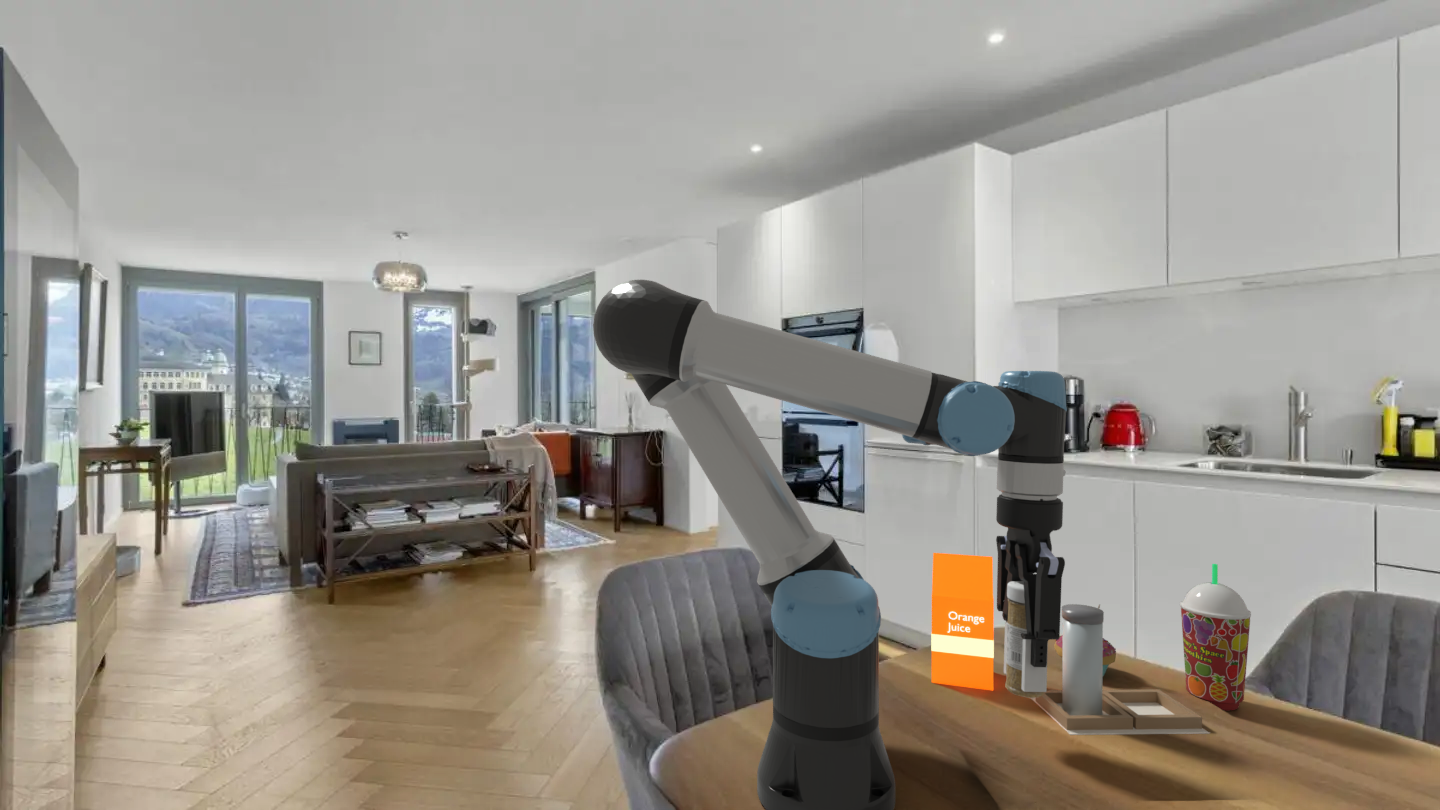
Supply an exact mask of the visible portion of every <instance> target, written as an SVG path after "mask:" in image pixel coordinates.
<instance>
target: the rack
mask: <svg viewBox="0 0 1440 810" xmlns="http://www.w3.org/2000/svg"><path fill="white" fill-rule="evenodd" d="M1030 699H1031V700H1032V701H1033V702H1034V703H1035V704H1036V705H1037V706H1038V707H1040V708H1041V709H1042V710H1043V711H1044V712H1045V713H1046V714H1047V715H1048V716H1049V717H1050V718H1052V720H1054V722H1056V723H1057V724H1058V725H1059V726H1060V727H1061V728H1062V729H1063V730H1064V731H1066V732H1067V734H1068V735H1070V736H1083V735H1085V736H1090V735H1092V736H1093V735H1097V736H1098V735H1103V736H1105V735H1109V736H1110V735H1168V734H1169V735H1183V734H1184V735H1187V734H1188V735H1190V734H1191V735H1192V734H1193V735H1194V734H1196V735H1197V734H1198V735H1199V734H1202V735H1203V734H1204V735H1205V734H1211V732H1210V731H1207V730H1206V729H1205V728H1203V717H1202V716H1201V715H1199V714H1198V713H1196V712H1194V711H1193V710H1192V709H1190V708H1189V707H1187V706H1185V705H1184V704H1182V703H1181V702H1179V700H1176V699H1174V698H1173V697H1171V696H1170V695H1168V694H1167V693H1165V692H1164V691H1162V690H1161V689H1159V688H1158V689H1157V688H1156V689H1102V715H1071V716H1070V715H1069V714H1068V713H1067V712H1065V711H1064V710H1063V709H1062V689H1059V690H1058V689H1057V690H1049V689H1046V692H1044V694H1043V695H1042V696H1041V697H1035V698H1030Z"/></svg>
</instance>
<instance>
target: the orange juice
mask: <svg viewBox="0 0 1440 810" xmlns="http://www.w3.org/2000/svg"><path fill="white" fill-rule="evenodd" d="M932 556H933V557H932V577H931V579H932V584H931V634H930V636H931V638H930V640H931V642H930V643H931V644H930V645H931V648H930V649H931V684H932V683H933V684H939V685H947V686H954V687H962V688H963V687H964V688H969V689H977V690H978V689H979V690H984V691H992V692H993V691H994V658H995V653H994V652H995V640H994V639H995V638H994V635H995V631H994V630H995V627H994V626H995V625H994V621H995V617H994V616H995V614H994V613H995V612H994V611H995V610H994V608H995V607H994V606H995V605H994V603H995V602H994V601H995V600H994V576H993V575H994V572H993V571H994V569H993V568H994V567H993V565H994V564H993V556H986V555H972V554H971V555H970V554H958V553H957V554H956V553H943V552H941V553H940V552H933V553H932Z"/></svg>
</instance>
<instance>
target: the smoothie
mask: <svg viewBox="0 0 1440 810" xmlns="http://www.w3.org/2000/svg"><path fill="white" fill-rule="evenodd" d="M1218 567H1219V566H1218V564H1217V563H1212V564H1211V582H1202V583H1199V584H1197V585H1195V586H1193V587H1192V588H1190V589H1189V590H1188V591H1187V592H1186V594H1185V596H1184V599H1183V600H1181V601H1180V602H1179V606H1180V612H1181V615H1180V616H1181V630H1182V631H1181V632H1182V643H1183V661H1184V672H1185V690H1186V691H1187V692H1189V693H1190V694H1191V695H1193V696H1195V697H1196V698H1200V699H1202V700H1205V701H1207V702H1208V703H1210V704H1211V705H1213V706H1215V707H1217V708H1218V709H1220V710H1222V711H1223V710H1225V712H1227V711H1230V710H1231V711H1234V710H1238V709H1239V707H1240V703H1242V702H1243V701H1244V700H1245V690H1246V689H1245V688H1246V675H1247V665H1248V663H1247V662H1248V650H1249V640H1250V627H1251V626H1250V625H1251V617H1252V611H1250V610H1249V609H1248V608H1247V605H1246V603H1245V601H1244V599H1243V597H1241V596H1240V594H1239V593H1238V592H1237V591H1235V590H1234V589H1232V588H1231V587H1229V586H1228V585H1226V584H1223V583H1219V582H1218V580H1219V579H1218V578H1219V577H1218V571H1219V569H1218Z"/></svg>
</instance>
